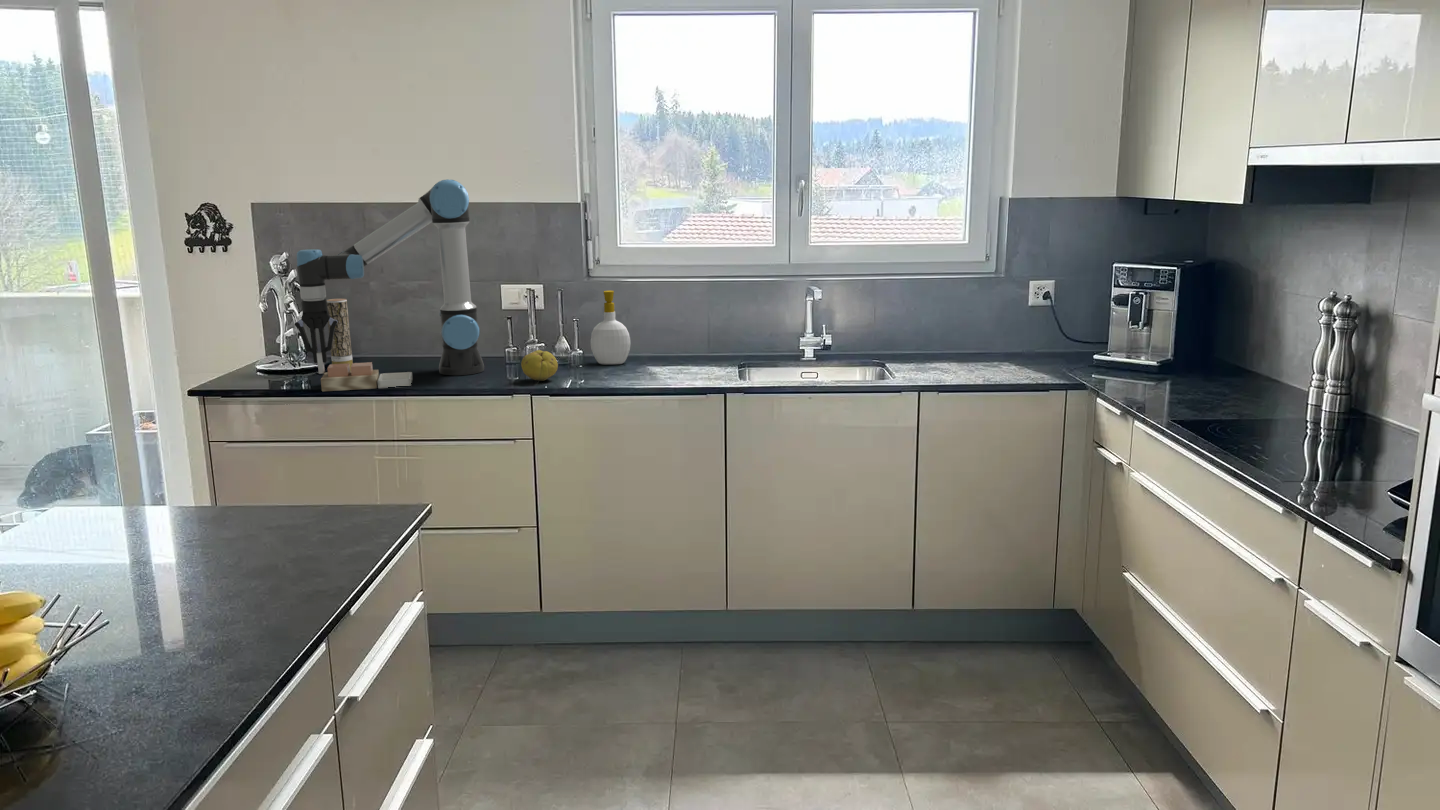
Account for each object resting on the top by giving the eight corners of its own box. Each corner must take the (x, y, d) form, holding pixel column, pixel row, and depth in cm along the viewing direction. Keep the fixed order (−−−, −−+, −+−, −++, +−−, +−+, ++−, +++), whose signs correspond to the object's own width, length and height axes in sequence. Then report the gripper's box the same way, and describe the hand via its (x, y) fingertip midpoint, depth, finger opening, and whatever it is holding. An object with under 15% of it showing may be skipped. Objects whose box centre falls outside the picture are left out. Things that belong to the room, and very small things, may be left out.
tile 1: (350, 372, 326) (349, 363, 326) (348, 376, 321) (347, 366, 320) (330, 373, 325) (329, 364, 324) (328, 377, 319) (327, 367, 319)
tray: (412, 379, 335) (411, 371, 334) (410, 386, 323) (410, 378, 323) (381, 381, 332) (380, 373, 332) (378, 388, 321) (377, 380, 320)
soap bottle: (632, 361, 363) (630, 288, 357) (629, 365, 354) (627, 291, 348) (593, 361, 363) (590, 289, 357) (589, 365, 355) (586, 292, 349)
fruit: (521, 378, 334) (519, 349, 332) (557, 376, 337) (555, 347, 334) (522, 385, 324) (521, 354, 321) (559, 383, 326) (558, 352, 324)
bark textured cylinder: (346, 373, 345) (339, 301, 339) (328, 373, 346) (321, 300, 340) (357, 370, 351) (350, 298, 346) (339, 369, 353) (332, 298, 347)
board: (379, 381, 332) (378, 369, 331) (376, 388, 321) (375, 376, 320) (326, 384, 328) (325, 372, 327) (321, 391, 317) (320, 379, 316)
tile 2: (372, 371, 328) (372, 362, 327) (371, 374, 322) (370, 365, 322) (353, 372, 327) (352, 363, 326) (351, 375, 321) (350, 366, 320)
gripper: (337, 296, 321) (344, 369, 326) (293, 298, 318) (301, 371, 323) (334, 299, 314) (342, 373, 319) (289, 301, 311) (298, 376, 316)
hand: (321, 372), depth 321 cm, fingers closed
